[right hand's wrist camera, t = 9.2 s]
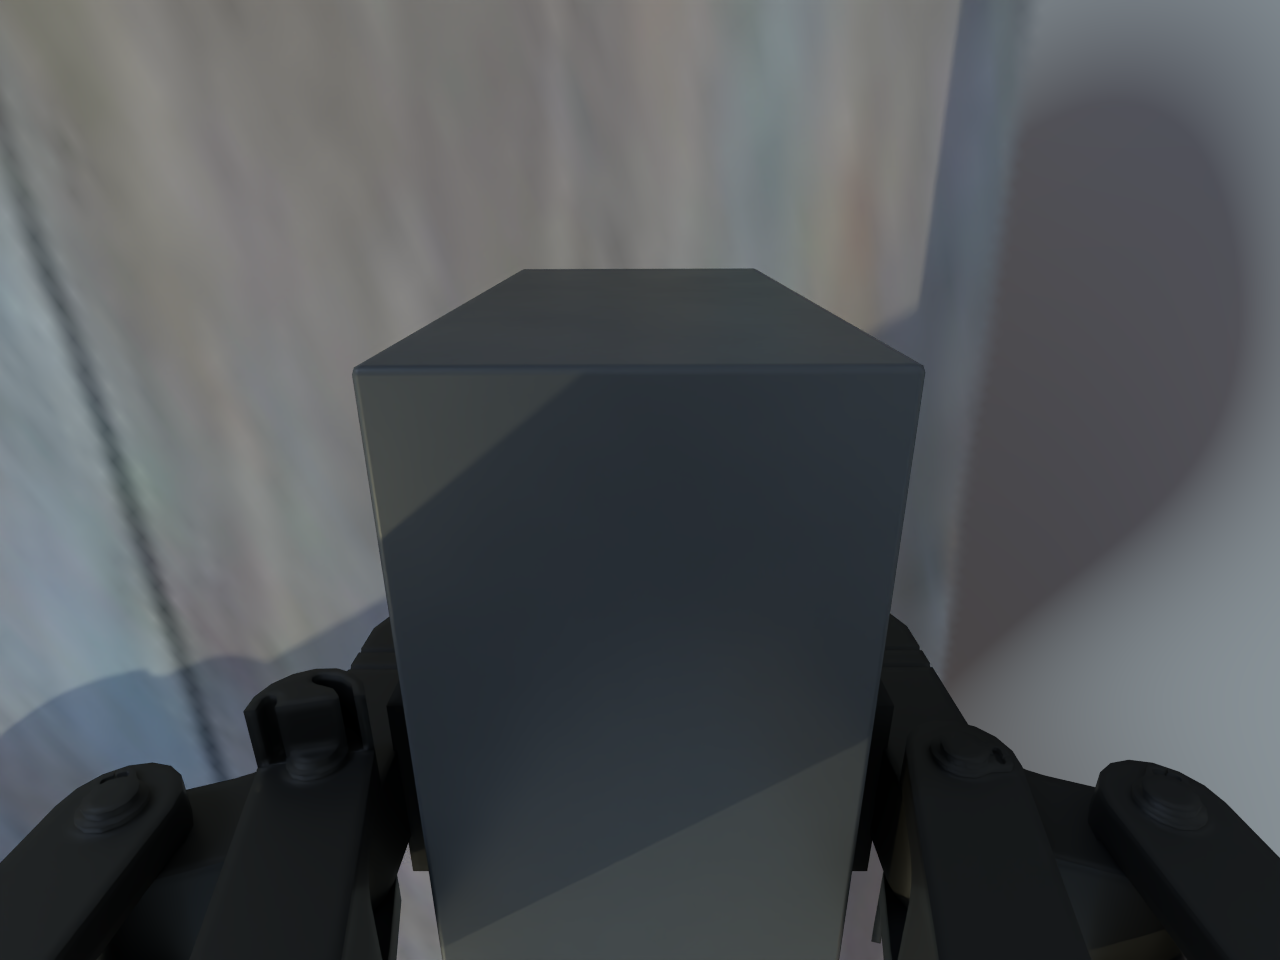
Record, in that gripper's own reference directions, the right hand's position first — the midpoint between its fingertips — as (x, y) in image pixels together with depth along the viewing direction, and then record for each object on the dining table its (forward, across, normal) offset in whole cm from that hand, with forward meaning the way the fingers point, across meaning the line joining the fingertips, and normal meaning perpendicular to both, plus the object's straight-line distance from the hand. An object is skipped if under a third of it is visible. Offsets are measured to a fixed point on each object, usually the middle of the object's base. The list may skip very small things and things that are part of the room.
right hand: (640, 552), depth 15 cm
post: (+1, 0, -36) cm, 36 cm away
